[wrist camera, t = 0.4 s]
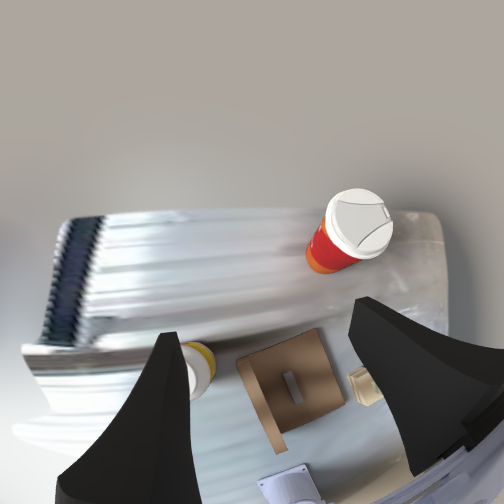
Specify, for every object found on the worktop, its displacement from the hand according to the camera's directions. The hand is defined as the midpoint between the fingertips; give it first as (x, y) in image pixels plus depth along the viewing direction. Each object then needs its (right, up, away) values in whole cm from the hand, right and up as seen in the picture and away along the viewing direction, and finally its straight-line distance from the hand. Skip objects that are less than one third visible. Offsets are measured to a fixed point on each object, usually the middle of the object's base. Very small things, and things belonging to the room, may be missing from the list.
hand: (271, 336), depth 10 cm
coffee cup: (+10, +3, +31) cm, 33 cm away
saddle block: (+18, -16, +26) cm, 36 cm away
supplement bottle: (-9, -13, +26) cm, 30 cm away
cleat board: (+5, -16, +25) cm, 30 cm away
